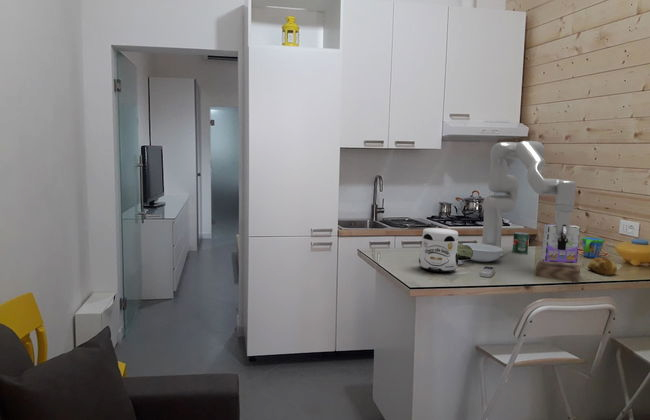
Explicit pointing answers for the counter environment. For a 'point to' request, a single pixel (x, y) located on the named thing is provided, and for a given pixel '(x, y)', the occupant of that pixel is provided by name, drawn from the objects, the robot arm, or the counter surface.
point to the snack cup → (592, 246)
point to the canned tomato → (520, 243)
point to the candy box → (551, 245)
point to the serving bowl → (484, 252)
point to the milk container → (439, 250)
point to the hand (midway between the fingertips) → (560, 248)
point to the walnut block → (558, 270)
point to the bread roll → (602, 266)
